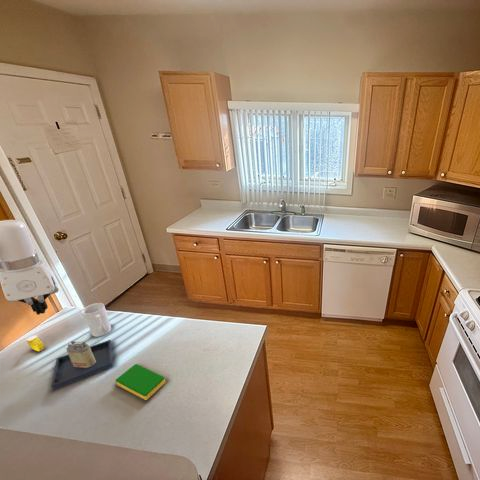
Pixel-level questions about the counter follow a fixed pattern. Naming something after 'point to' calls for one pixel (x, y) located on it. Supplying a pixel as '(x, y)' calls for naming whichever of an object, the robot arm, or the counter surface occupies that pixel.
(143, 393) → the dish sponge
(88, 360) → the lighter
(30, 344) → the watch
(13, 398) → the counter surface
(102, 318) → the mug
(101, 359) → the tray
